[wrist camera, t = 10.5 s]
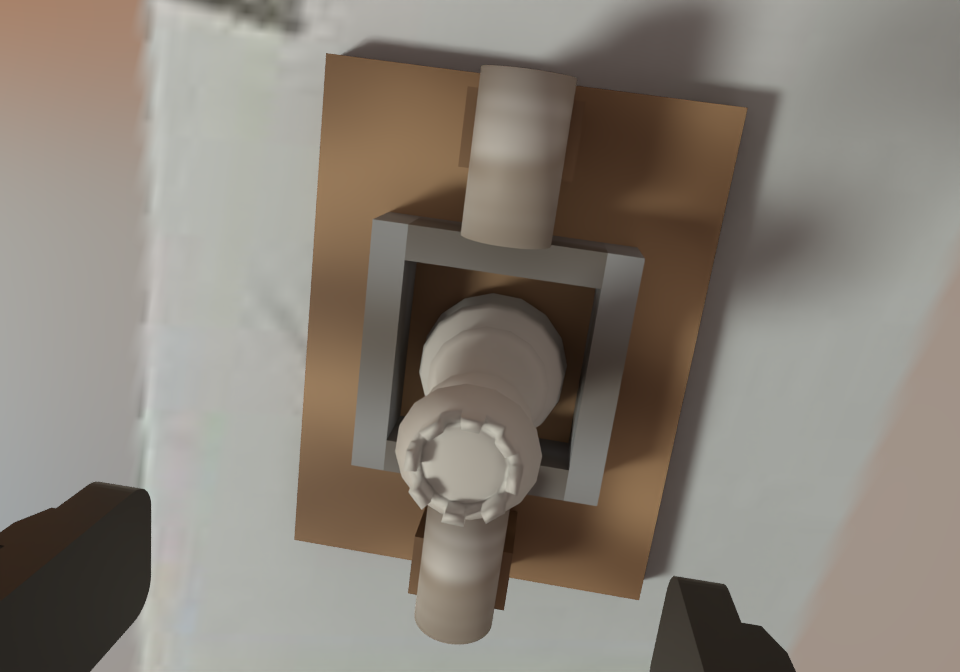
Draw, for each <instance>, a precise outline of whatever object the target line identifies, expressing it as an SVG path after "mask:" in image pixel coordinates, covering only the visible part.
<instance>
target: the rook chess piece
mask: <svg viewBox="0 0 960 672" xmlns="http://www.w3.org/2000/svg"><path fill="white" fill-rule="evenodd" d="M566 368H567V363H566V358H565V353H564V347H563V342H562V338H561V337H560V335H559V334H558V332H557V331H556V329H555V328H554V326H553V325H552V323H551V322H550V320H549V319H548V317H547V316H546V315H545V314H544V313H542V312H541V311H539V310H538V309H536V308H535V307H533V306H532V305H530V304H529V303H527V302H526V301H524V300H522V299H519V298H514V297H510V296H505V295H500V294H495V293H491V294H486V295H481V296H475V297H470V298H465V299H463V300H462V301H460V302H459V303H457V304H456V305H454V306H453V307H451V308H450V309H448V310H447V311H445V312H444V313H442V314H441V315H440V317H439V318H438V320H437V322H436V323H435V325H434V326H433V328H432V329H431V331H430V332H429V334H428V335H427V338H426V343H425V344H424V346H423V352H422V358H421V364H420V370H419V373H420V377H421V381H422V385H423V390H424V394H425V397H423V398H422V399H420V400H419V401H417V402H415V403H414V404H413V406H412V407H411V409H410V410H409V412H408V413H407V415H406V416H405V418H404V419H403V421H402V422H401V424H400V425H399V431H398V437H397V443H396V449H395V453H396V457H397V461H398V464H399V468H400V472H401V476H402V478H403V479H404V481H405V482H406V483H407V485H408V486H409V487H410V489H409V491H408V492H409V494H410V495H411V496H412V498H413V499H414V500H415V502H416V503H417V504H418V506H419V507H420V508H421V510H422V509H423V508H424V507H425V506H426V505H428V506H430V507H431V508H433V509H435V510H436V511H438V512H439V513H441V514H443V517H442V520H441V522H442V523H447V524H451V525H456V526H460V527H464V523H465V519H466V520H474V519H481V518H483V519H484V521H485V523H486V524H487V523H489V522H490V521H492V520H494V519H496V518H497V517H499V516H501V515H503V514H505V511H507V510H509V509H510V508H512V507H514V506H516V505H518V504H519V503H521V501H522V500H523V499H524V497H525V496H526V495H527V493H528V492H529V491H530V489H531V488H532V487H533V486H534V484H535V483H536V481H537V476H538V472H539V468H540V463H541V459H542V453H541V448H540V443H539V438H538V434H537V429H536V427H538V426H540V425H541V424H542V423H543V422H544V420H545V419H546V418H547V416H548V415H549V414H550V412H551V411H552V410H553V408H554V407H555V406H556V404H557V403H558V402H559V398H560V394H561V390H562V385H563V381H564V377H565V372H566Z"/></svg>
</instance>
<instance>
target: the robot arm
mask: <svg viewBox="0 0 960 672" xmlns="http://www.w3.org/2000/svg"><path fill="white" fill-rule="evenodd" d="M150 581H151V500H150V496H149V494H148V492H147V491H146V490H144V489H140V488H134V487H128V486H122V485H115V484H109V483H103V482H93V483H91V484H89V485H88V486H86V487H85V488H83V489H82V490H81V491H79V492H78V493H77V494H75V495H74V496H72V497H71V498H70V499H68V500H67V501H66V502H64V503H63V504H61V505H60V506H59V507H57V508H50V509H47V510H45V511H42V512H40V513H37V514H35V515H32V516H30V517H27V518H25V519H22V520H20V521H17V522H15V523H13V524H11V525H10V526H9V527H7V528H6V529H4V530H3V531H2V532H0V672H90V671H91V670H92V669H93V668H94V666H95V665H96V664H97V663H98V662H99V661H100V660H101V659H102V657H103V656H104V655H105V654H106V653H107V652H108V651H109V650H110V648H111V647H112V646H113V645H114V644H115V643H116V642H117V640H118V639H119V638H120V637H121V636H122V635H123V633H125V631H126V630H127V629H128V628H129V627H130V626H131V625H132V623H133V622H134V621H135V620H136V619H137V617H138V615H139V614H140V612H141V610H142V608H143V606H144V604H145V601H146V598H147V595H148V592H149V587H150ZM650 672H796V671H795V669H794V667H793V664H792V662H791V660H790V658H789V656H788V653H787V652H786V651H785V650H784V649H783V648H782V647H781V646H780V645H779V644H778V643H777V642H776V641H775V640H774V639H773V638H772V637H771V636H770V635H769V634H768V633H767V632H766V631H765V629H764V628H763V627H762V626H758V625H752V624H746V623H741V621H740V618H739V616H738V613H737V610H736V608H735V605H734V603H733V600H732V598H731V595H730V593H729V590H728V588H727V586H726V585H724V584H720V583H714V582H708V581H702V580H695V579H689V578H683V577H677V576H673V577H672V578H671V580H670V582H669V585H668V588H667V592H666V597H665V601H664V606H663V610H662V615H661V620H660V624H659V629H658V634H657V638H656V643H655V648H654V652H653V657H652V661H651V667H650Z"/></svg>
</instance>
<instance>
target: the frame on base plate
mask: <svg viewBox="0 0 960 672" xmlns="http://www.w3.org/2000/svg"><path fill="white" fill-rule="evenodd" d="M576 83H577V78H575V77H572V76H568V75H564V74H559V73H554V72H548V71H541V70H535V69H527V68H519V67H510V66H498V65H482V66H481V72H480V73H475V72H467V71H459V70H451V69H444V68H436V67H428V66H421V65H413V64H405V63H397V62H390V61H382V60H374V59H366V58H359V57H351V56H343V55H336V54H328V53H326V65H325V81H324V96H323V111H322V127H321V142H320V157H319V172H318V188H317V203H316V218H315V233H314V249H313V264H312V279H311V295H310V310H309V325H308V340H307V356H306V371H305V386H304V401H303V417H302V432H301V447H300V462H299V478H298V493H297V508H296V524H295V539H294V540H299V541H305V542H310V543H316V544H322V545H327V546H333V547H339V548H345V549H350V550H356V551H362V552H367V553H373V554H379V555H384V556H390V557H396V558H402V559H407V560H412V564H411V572H410V581H409V589H408V593H410V594H415V595H417V599H416V607H415V621H416V623H417V625H418V627H419V628H420V629H421V631H423V632H424V633H425V634H426V635H428V636H429V637H431V638H433V639H435V640H437V641H440V642H443V643H448V644H468V643H472V642H475V641H478V640H480V639H482V638H483V637H484V636H485V635H486V634H487V633H488V632H489V631H490V628H491V625H492V619H493V613H494V609H499V610H504V606H505V600H506V593H507V587H508V581H509V577H510V578H516V579H521V580H527V581H533V582H538V583H544V584H550V585H555V586H561V587H567V588H573V589H578V590H584V591H590V592H595V593H601V594H607V595H612V596H618V597H624V598H630V599H635V600H639V598H640V593H641V589H642V584H643V580H644V575H645V571H646V566H647V562H648V557H649V552H650V548H651V543H652V539H653V534H654V530H655V525H656V521H657V516H658V512H659V507H660V503H661V498H662V494H663V489H664V484H665V480H666V475H667V471H668V466H669V462H670V457H671V453H672V448H673V444H674V439H675V435H676V430H677V426H678V421H679V416H680V412H681V407H682V403H683V398H684V394H685V389H686V385H687V380H688V376H689V371H690V367H691V362H692V358H693V353H694V349H695V344H696V339H697V335H698V330H699V326H700V321H701V317H702V312H703V308H704V303H705V299H706V294H707V290H708V285H709V281H710V276H711V271H712V267H713V262H714V258H715V253H716V249H717V244H718V240H719V235H720V231H721V226H722V222H723V217H724V213H725V208H726V203H727V199H728V194H729V190H730V185H731V181H732V176H733V172H734V167H735V163H736V158H737V154H738V149H739V145H740V140H741V136H742V131H743V126H744V122H745V117H746V113H747V108H745V107H737V106H729V105H722V104H714V103H706V102H699V101H691V100H683V99H675V98H668V97H660V96H652V95H644V94H637V93H629V92H621V91H614V90H606V89H598V88H590V87H583V86H576ZM491 293H495V294H500V295H505V296H510V297H514V298H519V299H522V300H524V301H526V302H527V303H529V304H530V305H532V306H533V307H535V308H536V309H538V310H539V311H541V312H542V313H544V314H545V315H546V316H547V317H548V319H549V320H550V322H551V323H552V325H553V326H554V328H555V329H556V331H557V332H558V334H559V335H560V337H561V338H562V342H563V347H564V353H565V358H566V363H567V368H566V372H565V377H564V381H563V385H562V390H561V394H560V398H559V402H558V403H557V404H556V406H555V407H554V408H553V410H552V411H551V412H550V414H549V415H548V416H547V418H546V419H545V420H544V422H543V423H542V424H541V425H540V426H538V427H536V429H537V434H538V438H539V443H540V448H541V453H542V459H541V463H540V468H539V472H538V476H537V481H536V483H535V484H534V486H533V487H532V488H531V489H530V491H529V492H528V493H527V495H526V496H525V497H524V499H523V500H522V501H521V503H519V504H518V505H516V506H514V507H512V508H510V509H509V510H507V511H505V514H503V515H501V516H499V517H497V518H496V519H494V520H492V521H490V522H489V523H487V524H486V523H485V521H484V519H483V518H481V519H474V520H466V519H465V523H464V527H460V526H456V525H451V524H447V523H442V522H441V520H442V517H443V514H441V513H439V512H438V511H436V510H435V509H433V508H431V507H430V506H428V505H426V506H425V507H424V508H423V509H422V510H421V508H420V507H419V506H418V504H417V503H416V502H415V500H414V499H413V498H412V496H411V495H410V494H409V492H408V491H409V489H410V487H409V486H408V485H407V483H406V482H405V481H404V479H403V478H402V476H401V472H400V468H399V464H398V461H397V457H396V453H395V449H396V443H397V437H398V431H399V425H400V424H401V422H402V421H403V419H404V418H405V416H406V415H407V413H408V412H409V410H410V409H411V407H412V406H413V404H414V403H415V402H417V401H419V400H420V399H422V398H423V397H425V394H424V390H423V385H422V381H421V377H420V373H419V370H420V364H421V358H422V352H423V346H424V344H425V343H426V338H427V335H428V334H429V332H430V331H431V329H432V328H433V326H434V325H435V323H436V322H437V320H438V318H439V317H440V315H441V314H442V313H444V312H445V311H447V310H448V309H450V308H451V307H453V306H454V305H456V304H457V303H459V302H460V301H462V300H463V299H465V298H470V297H475V296H481V295H486V294H491Z"/></svg>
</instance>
